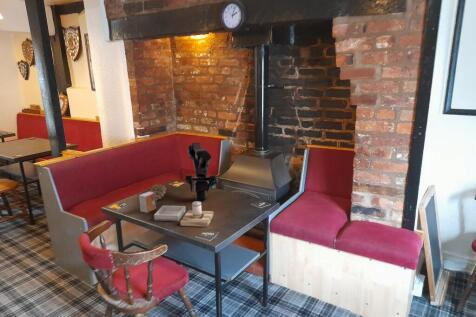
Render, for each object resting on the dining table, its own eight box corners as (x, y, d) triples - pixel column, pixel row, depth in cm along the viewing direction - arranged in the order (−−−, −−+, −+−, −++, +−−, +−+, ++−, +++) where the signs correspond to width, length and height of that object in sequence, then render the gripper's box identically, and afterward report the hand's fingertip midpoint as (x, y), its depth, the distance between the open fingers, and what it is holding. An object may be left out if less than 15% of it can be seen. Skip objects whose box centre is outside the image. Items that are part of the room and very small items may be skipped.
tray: (163, 210, 206) (162, 205, 206) (185, 211, 205) (185, 206, 204) (154, 220, 193) (154, 214, 192) (178, 221, 191) (178, 215, 190)
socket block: (188, 214, 200) (188, 210, 200) (213, 215, 198) (213, 211, 197) (180, 225, 186) (180, 221, 185) (207, 226, 184) (207, 222, 183)
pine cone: (159, 195, 234) (157, 181, 231) (170, 197, 229) (169, 183, 227) (135, 206, 215) (134, 191, 213) (146, 208, 211) (145, 193, 208)
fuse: (194, 218, 195) (193, 201, 192) (202, 218, 194) (202, 201, 191) (192, 222, 190) (190, 204, 187) (200, 222, 189) (199, 204, 187)
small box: (146, 213, 204) (145, 196, 201) (140, 211, 206) (138, 195, 204) (156, 208, 210) (155, 192, 208) (149, 207, 213) (148, 191, 211)
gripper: (184, 161, 199) (180, 185, 191) (216, 162, 196) (212, 186, 188) (189, 171, 208) (185, 194, 200) (219, 171, 206) (216, 195, 198)
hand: (199, 192), depth 196 cm, fingers open, 9 cm apart
